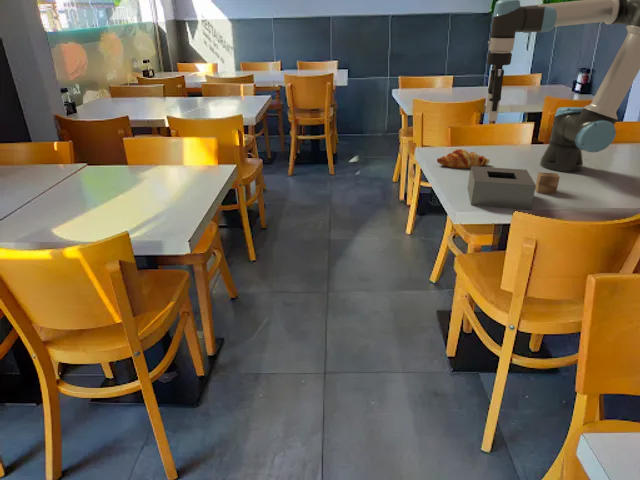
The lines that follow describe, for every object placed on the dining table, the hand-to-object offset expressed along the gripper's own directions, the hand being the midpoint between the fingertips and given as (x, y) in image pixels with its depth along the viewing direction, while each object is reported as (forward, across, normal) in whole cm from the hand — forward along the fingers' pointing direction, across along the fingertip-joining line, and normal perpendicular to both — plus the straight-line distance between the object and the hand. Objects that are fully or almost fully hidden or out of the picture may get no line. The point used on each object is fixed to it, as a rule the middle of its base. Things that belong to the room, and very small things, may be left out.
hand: (490, 116), depth 170 cm
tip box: (+22, +21, +4) cm, 31 cm away
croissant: (+23, -13, -6) cm, 27 cm away
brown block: (+22, +10, +20) cm, 32 cm away
